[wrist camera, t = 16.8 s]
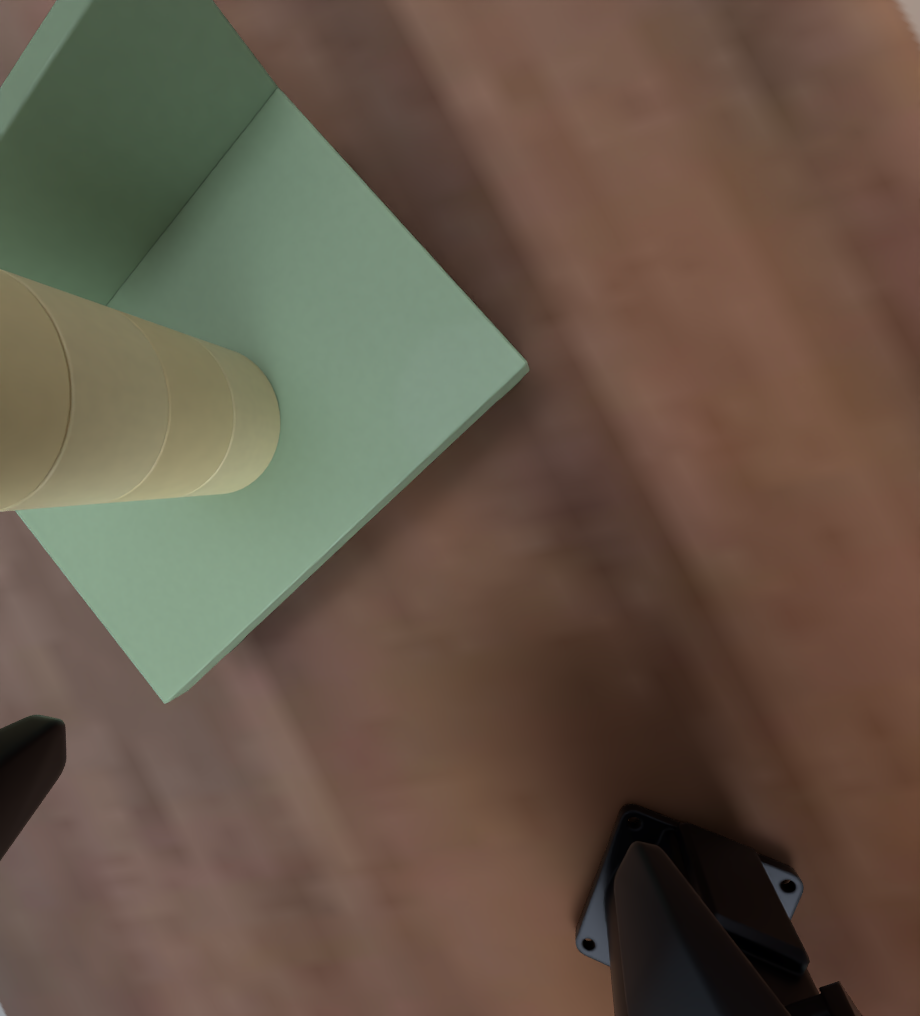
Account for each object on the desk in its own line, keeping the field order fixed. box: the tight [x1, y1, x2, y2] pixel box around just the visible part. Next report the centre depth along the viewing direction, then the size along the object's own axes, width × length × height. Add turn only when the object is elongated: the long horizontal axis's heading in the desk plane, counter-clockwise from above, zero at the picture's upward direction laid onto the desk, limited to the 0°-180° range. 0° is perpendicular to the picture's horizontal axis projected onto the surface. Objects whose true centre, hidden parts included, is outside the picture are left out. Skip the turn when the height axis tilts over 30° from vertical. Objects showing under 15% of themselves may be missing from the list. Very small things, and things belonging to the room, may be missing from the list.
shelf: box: [0, 0, 530, 703], centre depth 17 cm, size 13×18×9 cm
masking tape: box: [0, 269, 280, 511], centre depth 12 cm, size 5×5×10 cm
